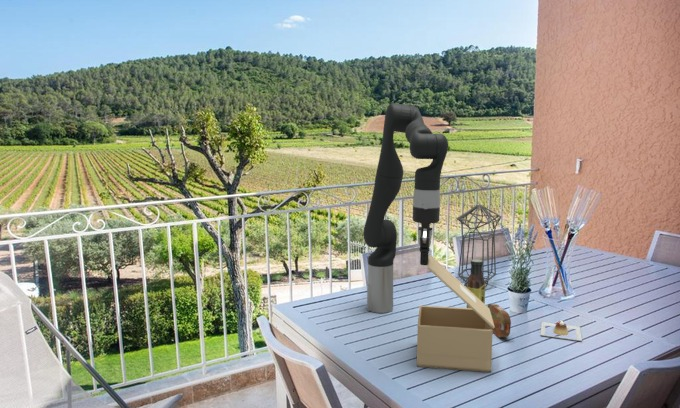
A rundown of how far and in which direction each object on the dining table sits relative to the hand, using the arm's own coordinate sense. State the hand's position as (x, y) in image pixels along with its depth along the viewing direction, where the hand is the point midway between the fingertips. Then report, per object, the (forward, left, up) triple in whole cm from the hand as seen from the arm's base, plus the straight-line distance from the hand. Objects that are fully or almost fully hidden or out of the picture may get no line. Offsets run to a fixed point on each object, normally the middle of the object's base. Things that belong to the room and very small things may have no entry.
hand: (424, 264), depth 145 cm
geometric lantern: (+21, +71, -28) cm, 79 cm away
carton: (+9, 0, -27) cm, 29 cm away
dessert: (+44, +24, -28) cm, 58 cm away
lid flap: (+10, 0, -7) cm, 12 cm away
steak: (+24, +21, -28) cm, 42 cm away
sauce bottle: (+18, +36, -28) cm, 49 cm away
